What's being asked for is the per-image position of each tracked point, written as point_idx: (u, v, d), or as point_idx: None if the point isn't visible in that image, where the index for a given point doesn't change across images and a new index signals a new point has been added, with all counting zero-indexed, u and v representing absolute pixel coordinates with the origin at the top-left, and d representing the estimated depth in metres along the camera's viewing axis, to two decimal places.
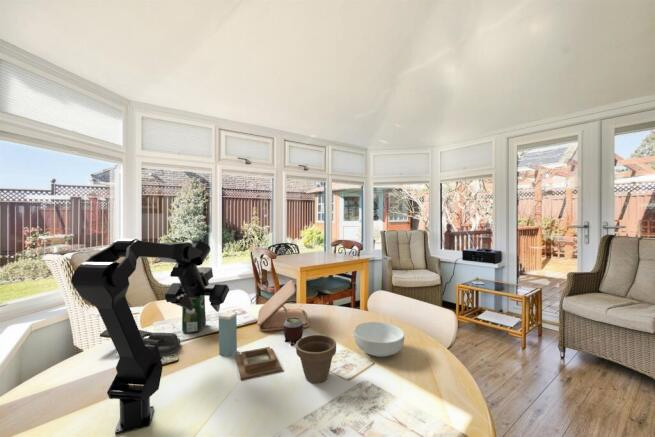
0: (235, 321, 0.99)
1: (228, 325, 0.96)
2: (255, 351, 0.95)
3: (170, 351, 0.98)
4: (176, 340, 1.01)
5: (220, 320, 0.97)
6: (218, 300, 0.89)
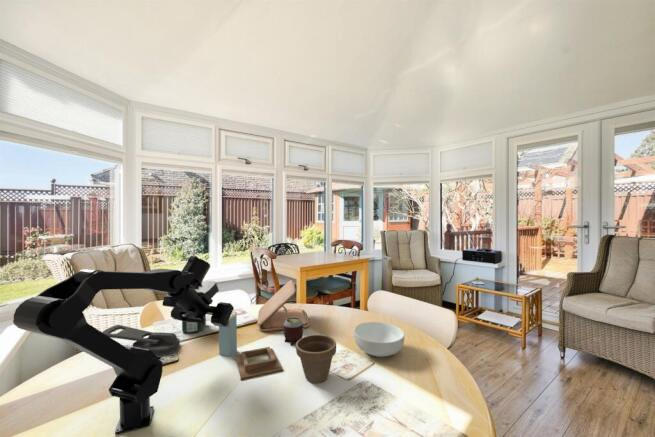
0: (235, 321, 0.99)
1: (228, 325, 0.96)
2: (255, 351, 0.95)
3: (169, 351, 0.98)
4: (175, 340, 1.01)
5: None
6: (220, 323, 0.81)
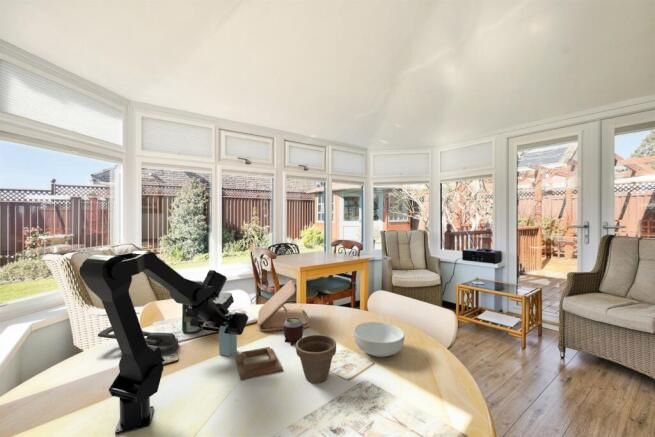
0: None
1: None
2: (255, 351, 0.95)
3: (168, 351, 0.98)
4: (174, 340, 1.01)
5: None
6: (236, 332, 0.89)
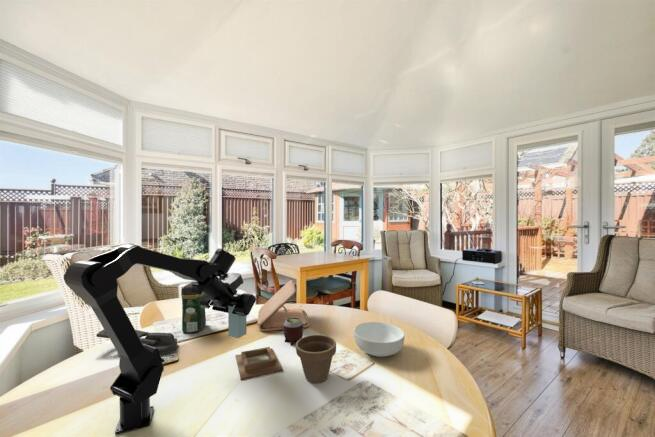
0: None
1: None
2: (255, 351, 0.95)
3: (167, 351, 0.98)
4: (173, 340, 1.01)
5: None
6: (242, 313, 0.86)
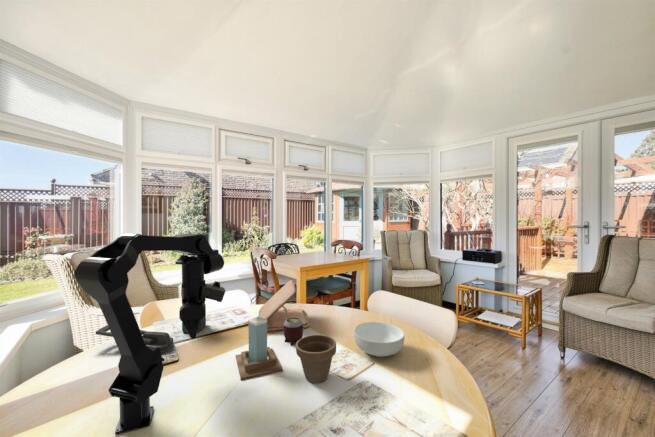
0: (265, 328, 0.91)
1: (255, 332, 0.89)
2: None
3: (162, 350, 0.99)
4: (168, 339, 1.01)
5: (249, 325, 0.90)
6: (179, 312, 0.75)
